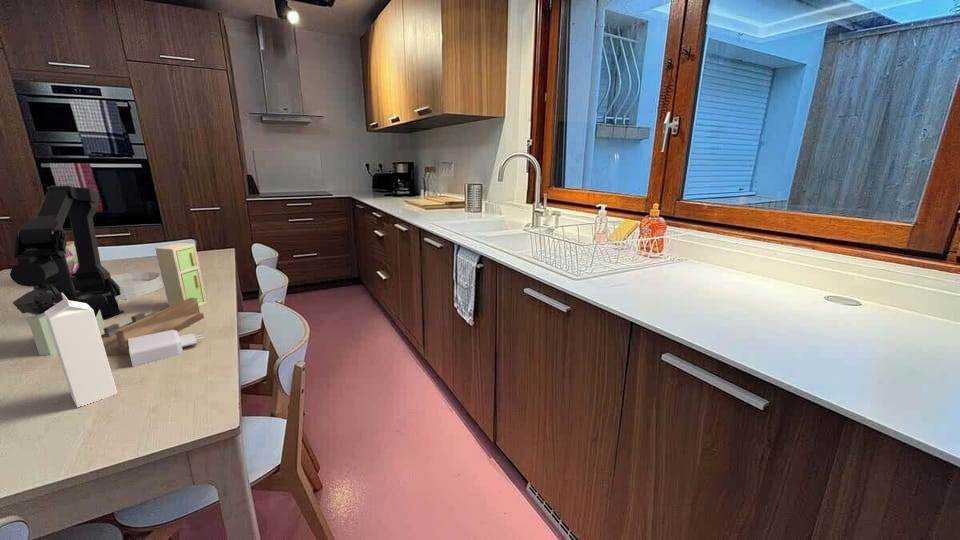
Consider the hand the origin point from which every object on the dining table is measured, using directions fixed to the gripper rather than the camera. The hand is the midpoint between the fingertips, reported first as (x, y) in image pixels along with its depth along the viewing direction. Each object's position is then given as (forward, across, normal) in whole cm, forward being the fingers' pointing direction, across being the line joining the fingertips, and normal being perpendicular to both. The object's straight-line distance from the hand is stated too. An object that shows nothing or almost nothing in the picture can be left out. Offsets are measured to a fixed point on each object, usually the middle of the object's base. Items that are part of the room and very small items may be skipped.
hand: (71, 331), depth 102 cm
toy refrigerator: (+3, +11, +26) cm, 28 cm away
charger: (+4, +29, -3) cm, 30 cm away
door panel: (+3, 0, 0) cm, 3 cm away
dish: (+4, -25, +40) cm, 47 cm away
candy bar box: (+3, -57, +48) cm, 75 cm away
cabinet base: (+3, +13, +6) cm, 15 cm away
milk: (+3, +30, -23) cm, 38 cm away
